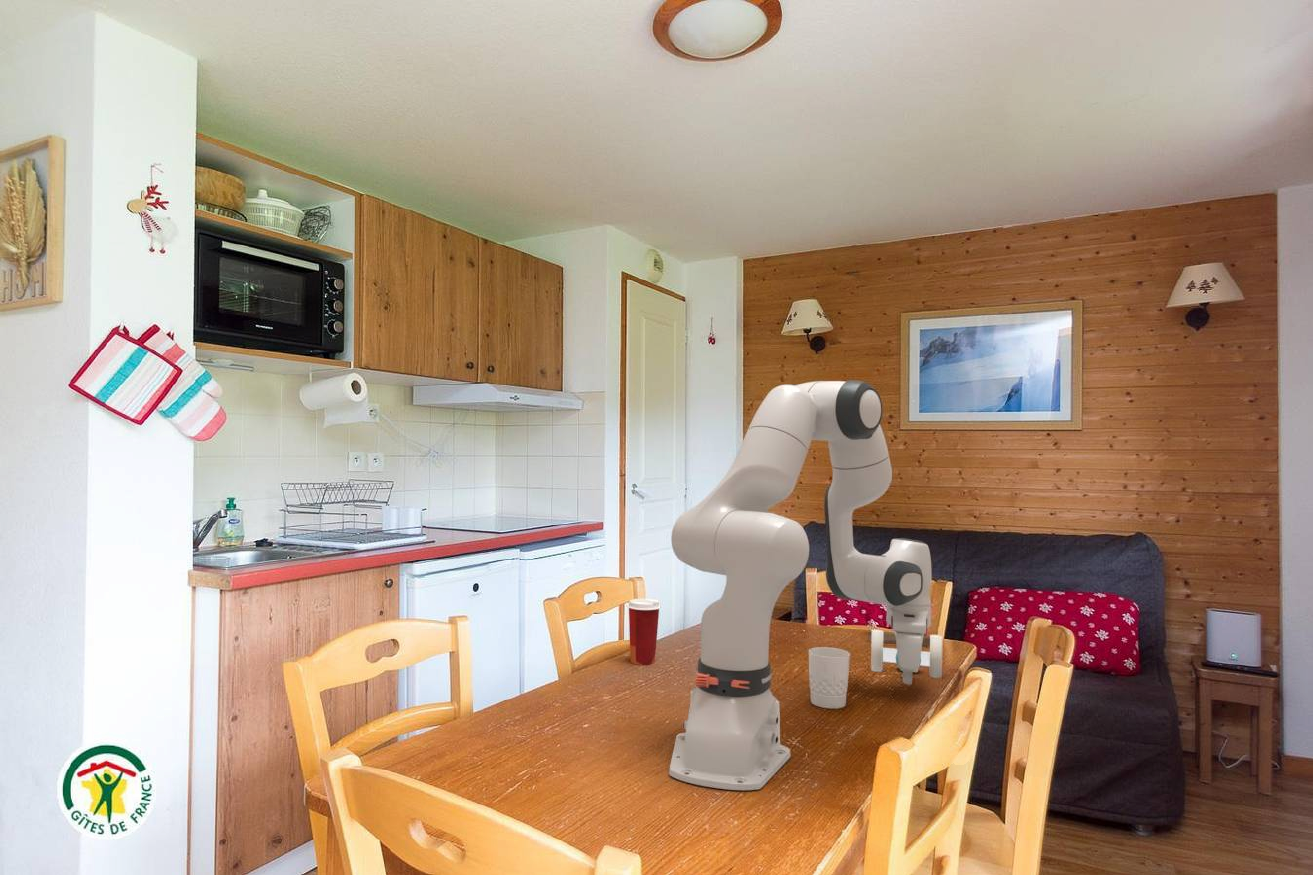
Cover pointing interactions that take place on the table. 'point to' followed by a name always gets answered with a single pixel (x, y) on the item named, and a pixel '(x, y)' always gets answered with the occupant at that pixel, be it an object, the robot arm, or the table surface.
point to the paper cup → (643, 630)
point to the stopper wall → (891, 638)
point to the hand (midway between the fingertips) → (907, 682)
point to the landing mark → (890, 653)
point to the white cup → (828, 676)
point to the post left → (877, 650)
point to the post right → (935, 656)
